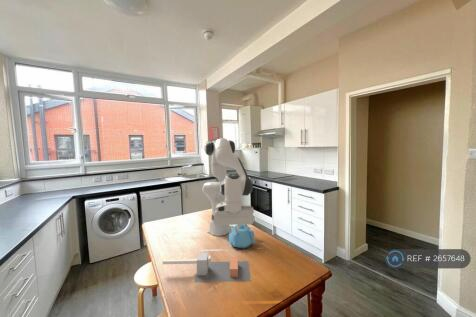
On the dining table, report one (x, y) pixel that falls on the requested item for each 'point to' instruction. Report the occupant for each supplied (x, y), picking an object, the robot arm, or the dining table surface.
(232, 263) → the salmon orange rectangular block
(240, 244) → the decorative pot
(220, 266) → the board
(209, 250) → the white mat
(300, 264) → the dining table surface
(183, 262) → the bar
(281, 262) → the dining table surface
